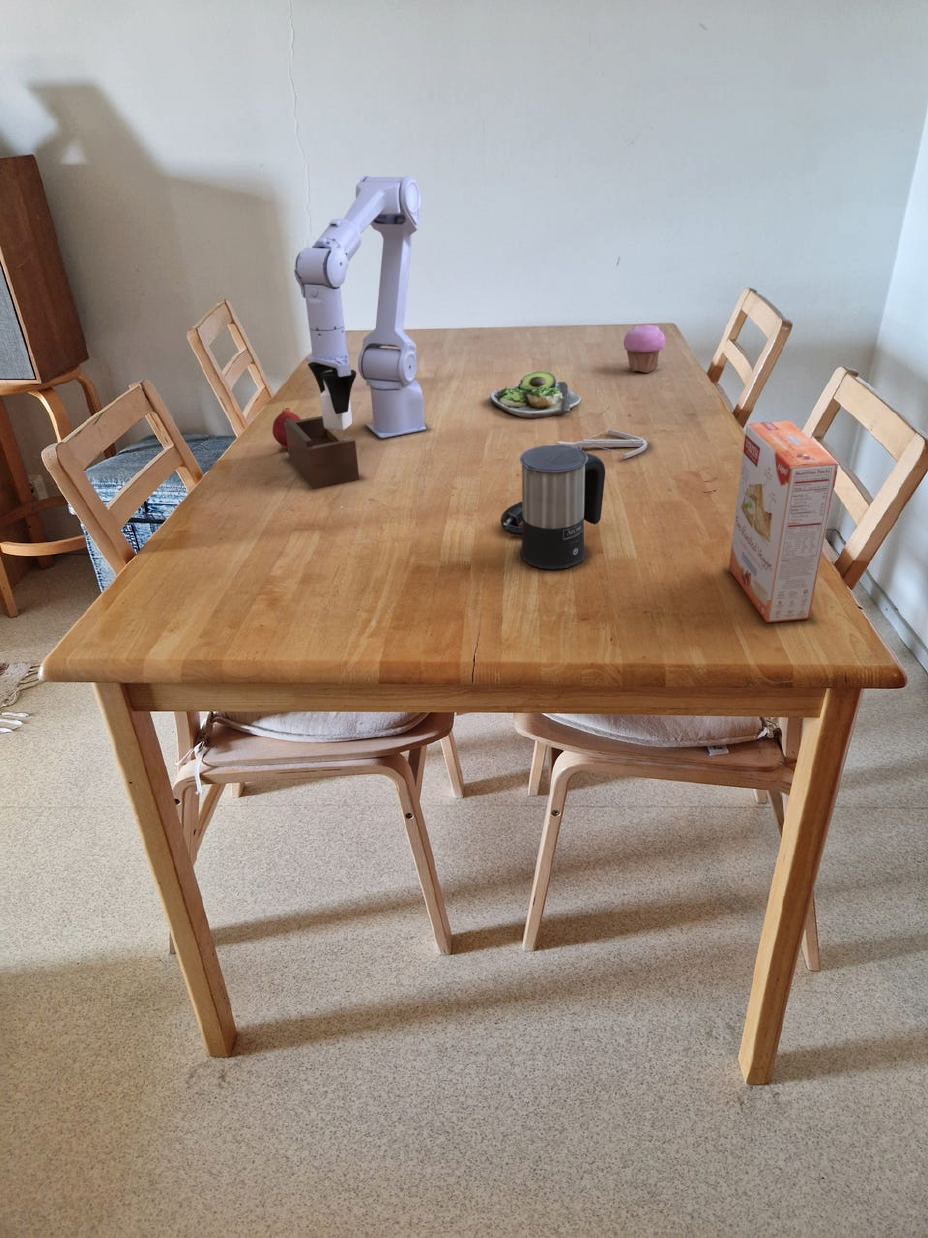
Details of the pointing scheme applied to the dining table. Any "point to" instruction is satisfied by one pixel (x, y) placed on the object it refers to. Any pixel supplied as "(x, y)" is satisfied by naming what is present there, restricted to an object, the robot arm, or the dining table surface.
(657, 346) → the cupcake
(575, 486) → the milk frother
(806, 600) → the cracker box
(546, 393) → the salad plate
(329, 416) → the pepper shaker
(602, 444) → the crossbow
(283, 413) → the onion
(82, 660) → the dining table surface
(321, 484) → the box
